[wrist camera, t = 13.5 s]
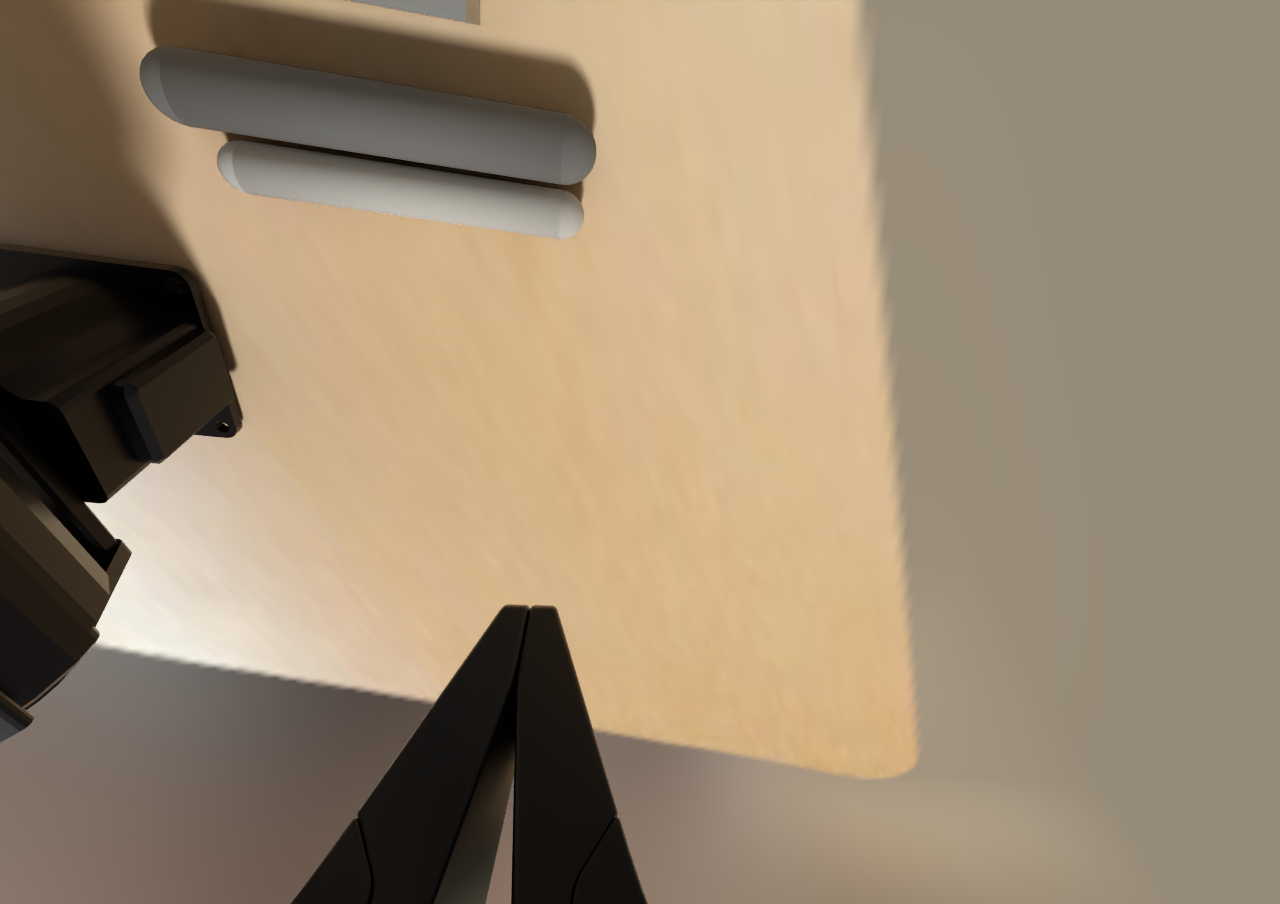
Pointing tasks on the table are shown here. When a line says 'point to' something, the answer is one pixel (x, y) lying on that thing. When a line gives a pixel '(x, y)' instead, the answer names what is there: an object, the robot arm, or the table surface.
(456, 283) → the table surface
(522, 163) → the grey double capsule
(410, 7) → the panel
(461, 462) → the table surface
